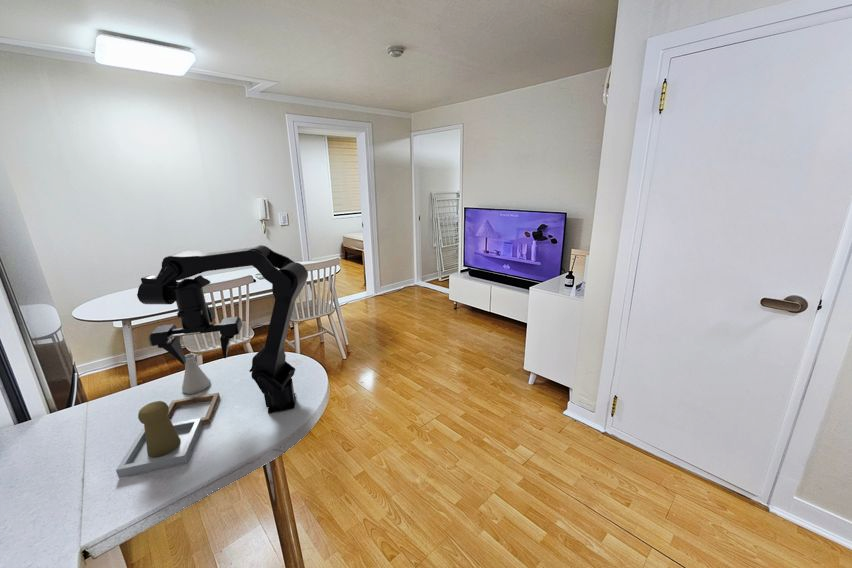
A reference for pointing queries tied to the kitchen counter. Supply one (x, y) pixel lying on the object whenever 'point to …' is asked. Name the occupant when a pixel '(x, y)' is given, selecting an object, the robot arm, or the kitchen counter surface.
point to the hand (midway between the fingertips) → (205, 360)
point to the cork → (158, 429)
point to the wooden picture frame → (193, 400)
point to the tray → (142, 463)
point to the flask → (194, 376)
